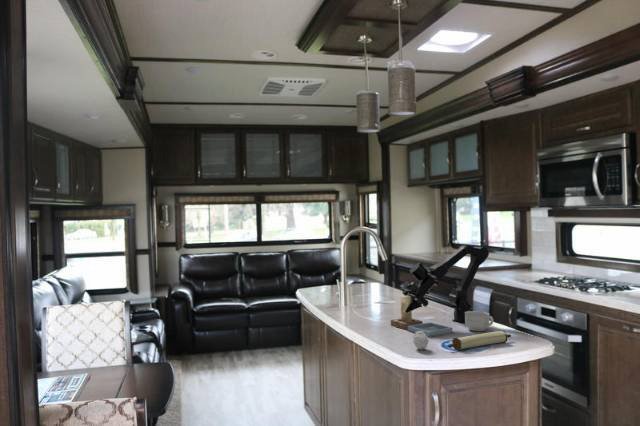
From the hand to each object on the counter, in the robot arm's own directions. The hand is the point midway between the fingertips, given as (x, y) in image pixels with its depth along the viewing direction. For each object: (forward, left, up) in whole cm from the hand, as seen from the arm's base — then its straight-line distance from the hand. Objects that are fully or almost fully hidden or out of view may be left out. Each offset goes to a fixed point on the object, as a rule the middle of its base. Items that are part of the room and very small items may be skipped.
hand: (403, 311), depth 234 cm
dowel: (0, -1, -7) cm, 7 cm away
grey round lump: (-34, +20, -7) cm, 40 cm away
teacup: (-26, -22, -7) cm, 35 cm away
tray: (-15, -2, -7) cm, 17 cm away
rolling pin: (-44, -3, -8) cm, 45 cm away
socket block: (0, -1, -7) cm, 7 cm away
